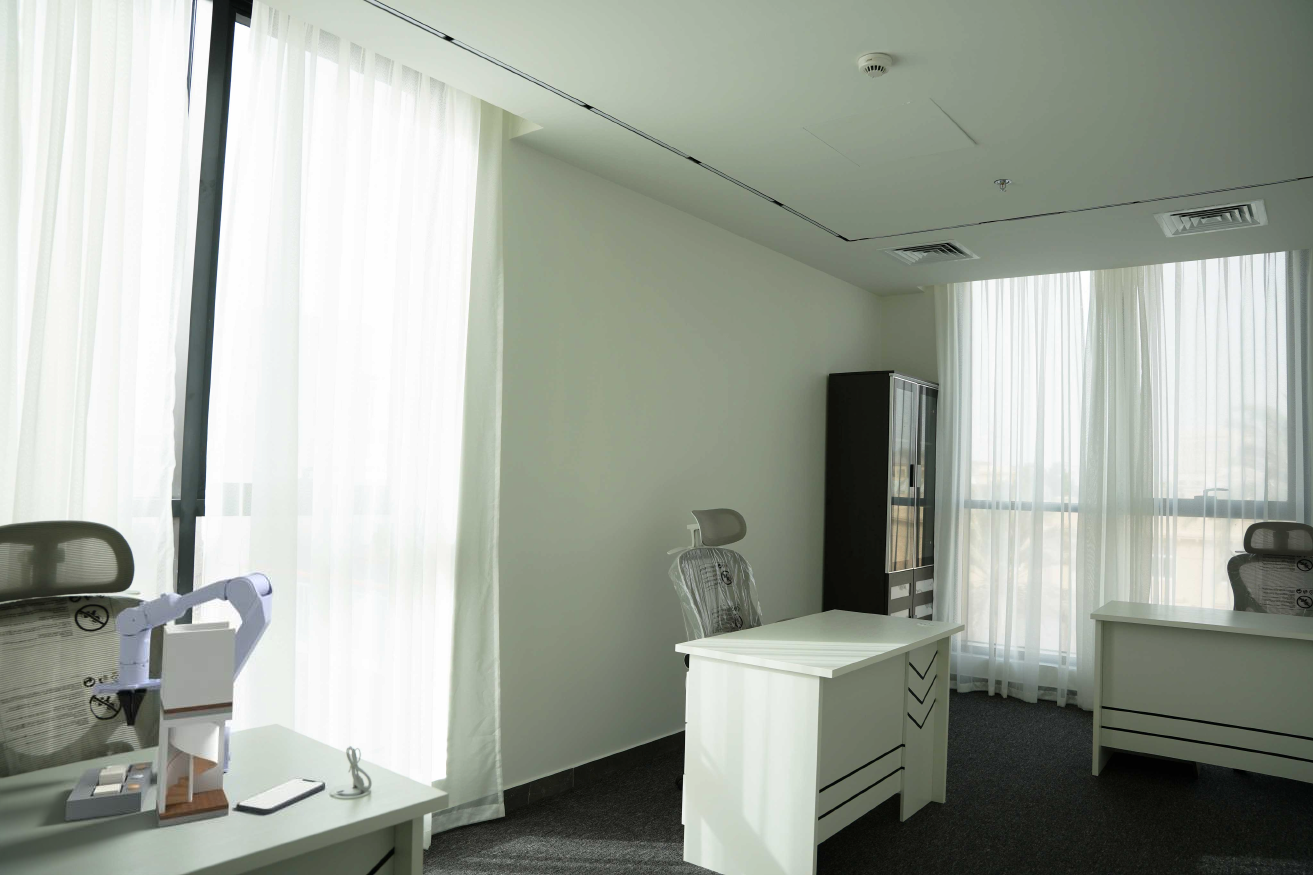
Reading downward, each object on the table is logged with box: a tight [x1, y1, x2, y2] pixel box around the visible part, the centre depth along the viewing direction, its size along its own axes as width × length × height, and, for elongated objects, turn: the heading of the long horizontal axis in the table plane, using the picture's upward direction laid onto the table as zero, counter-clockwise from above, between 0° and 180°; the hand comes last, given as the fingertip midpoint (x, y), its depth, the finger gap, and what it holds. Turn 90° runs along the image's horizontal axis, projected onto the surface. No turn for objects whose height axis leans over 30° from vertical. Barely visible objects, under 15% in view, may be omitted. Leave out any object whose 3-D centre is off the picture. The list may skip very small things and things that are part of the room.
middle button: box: [99, 767, 126, 785], centre depth 170 cm, size 4×4×3 cm
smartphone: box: [235, 778, 326, 816], centre depth 171 cm, size 9×2×16 cm
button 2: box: [106, 763, 131, 773], centre depth 176 cm, size 4×4×3 cm
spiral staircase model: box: [155, 621, 237, 828], centre depth 164 cm, size 11×11×35 cm
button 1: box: [93, 784, 121, 796], centre depth 164 cm, size 4×4×3 cm
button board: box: [65, 761, 153, 822], centre depth 170 cm, size 12×20×4 cm, turn 25°
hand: (131, 724), depth 187 cm, fingers closed
